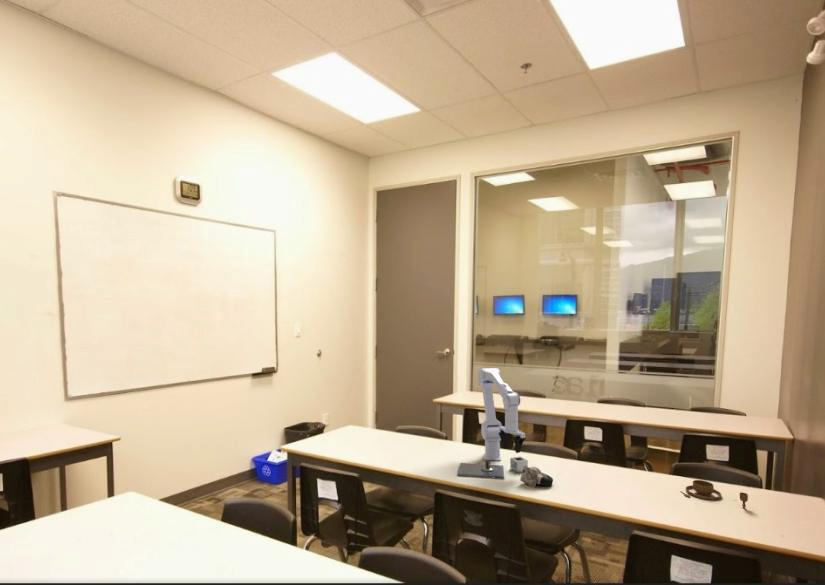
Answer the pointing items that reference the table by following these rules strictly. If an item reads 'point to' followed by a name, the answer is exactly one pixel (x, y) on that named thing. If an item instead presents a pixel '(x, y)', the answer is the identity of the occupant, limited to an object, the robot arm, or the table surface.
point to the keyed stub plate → (481, 470)
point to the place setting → (709, 491)
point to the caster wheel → (535, 477)
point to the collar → (518, 464)
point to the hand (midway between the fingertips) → (511, 450)
